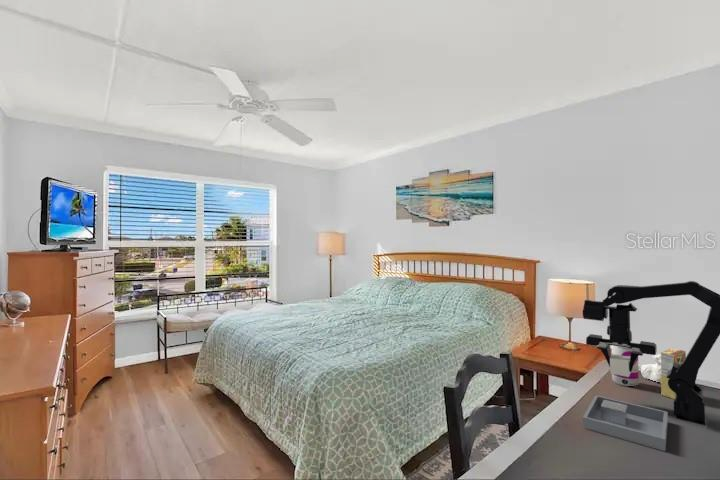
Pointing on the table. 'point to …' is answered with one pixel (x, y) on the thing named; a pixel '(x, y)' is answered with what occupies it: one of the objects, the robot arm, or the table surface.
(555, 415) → the table surface
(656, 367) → the duck figurine
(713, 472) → the table surface
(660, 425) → the tray
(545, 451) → the table surface
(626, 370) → the cream box
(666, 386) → the candy box
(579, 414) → the table surface
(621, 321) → the robot arm
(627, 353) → the supplement can
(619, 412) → the steel block
